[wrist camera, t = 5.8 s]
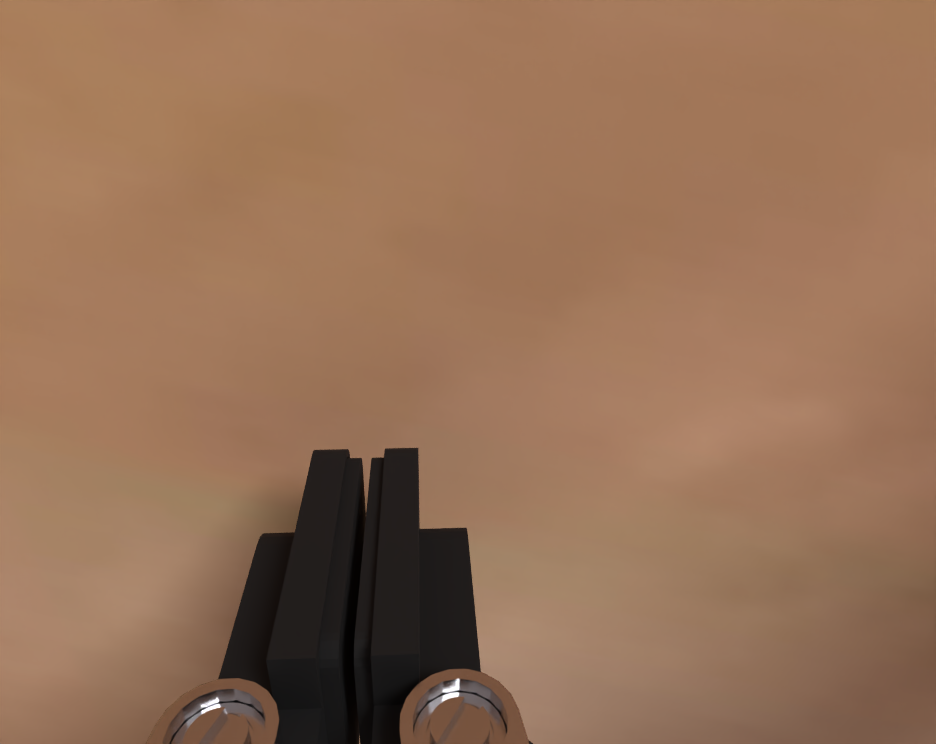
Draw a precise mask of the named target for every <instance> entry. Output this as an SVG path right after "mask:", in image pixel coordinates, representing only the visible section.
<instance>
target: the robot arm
mask: <svg viewBox="0 0 936 744" xmlns="http://www.w3.org/2000/svg"><path fill="white" fill-rule="evenodd" d="M359 734H360V744H533V743H531V742H530V741H529V740H528V738H527V734H526V731H525V728H524V725H523V721H522V718H521V715H520V712H519V709H518V707H517V705H516V703H515V701H514V699H513V697H512V695H511V693H510V692H509V691H508V690H507V689H506V688H505V687H504V686H503V685H502V684H501V683H500V682H499V681H497V680H496V679H494V678H492V677H490V676H488V675H487V674H485V673H482V672H481V669H480V659H479V648H478V638H477V627H476V617H475V606H474V596H473V585H472V575H471V564H470V553H469V543H468V534H467V528H442V529H420V528H419V465H418V448H392V449H385V454H384V458H372V460H371V470H370V480H369V491H368V501H367V512H365V496H364V480H363V465H362V459H361V458H350V454H349V450H348V449H342V450H314V451H313V454H312V458H311V463H310V467H309V472H308V476H307V480H306V485H305V489H304V494H303V498H302V503H301V507H300V512H299V516H298V520H297V525H296V529H295V533H264V534H262V535H261V536H260V539H259V541H258V544H257V547H256V550H255V554H254V557H253V561H252V564H251V568H250V571H249V575H248V578H247V582H246V585H245V589H244V592H243V596H242V599H241V603H240V606H239V610H238V613H237V616H236V620H235V623H234V627H233V630H232V634H231V637H230V641H229V644H228V648H227V651H226V655H225V658H224V662H223V665H222V669H221V672H220V676H219V679H218V680H215V681H212V682H208V683H205V684H202V685H199V686H198V687H196V688H194V689H192V690H191V691H189V692H187V693H185V694H183V695H182V696H181V697H180V698H179V699H178V700H176V701H175V702H174V703H173V704H172V705H171V706H170V707H169V708H167V709H166V711H165V712H164V714H163V715H162V717H161V718H160V719H159V721H158V722H157V724H156V725H155V727H154V729H153V731H152V733H151V735H150V736H149V738H148V740H147V742H146V744H359Z"/></svg>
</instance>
